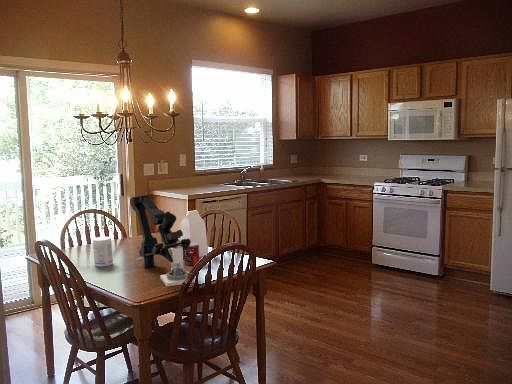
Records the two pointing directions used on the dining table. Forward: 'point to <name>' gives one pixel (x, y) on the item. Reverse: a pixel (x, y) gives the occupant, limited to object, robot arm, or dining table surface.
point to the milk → (195, 231)
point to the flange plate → (170, 282)
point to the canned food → (192, 254)
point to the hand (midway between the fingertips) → (178, 260)
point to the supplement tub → (102, 251)
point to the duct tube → (177, 260)
